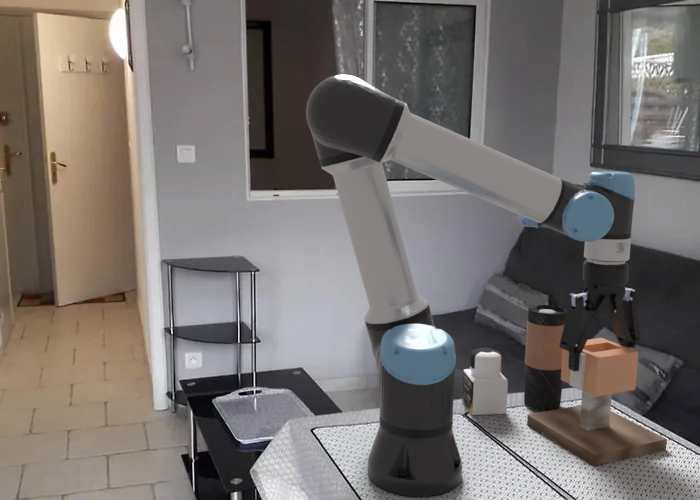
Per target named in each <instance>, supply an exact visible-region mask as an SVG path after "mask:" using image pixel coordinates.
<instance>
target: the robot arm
mask: <svg viewBox="0 0 700 500" xmlns="http://www.w3.org/2000/svg"><path fill="white" fill-rule="evenodd" d="M305 108H306V109H305V116H306V117H305V119H306V123H307V126H308V129H309V130H310V133H311V136H312V140H313V142H314V143H313V144H314V147H315V151H316V154H317V157H318V160H319V164H320V167H321V169H322V170H324V171H325V172H326V173H328V174H330V175H331V176H332V177H333V182H334V183H335V187H336V188H335V189H336V191H337V195H338V198H339V199H338V200H339V201H340V206H341V210H342V213H343V216H344V219H345V223H346V227H347V231H348V233H349V234H348V235H349V237H350V240H351V245H352V248H353V251H354V256H355V259H356V262H357V263H356V264H357V265H358V266H357V267H358V269H359V272H360V273H359V274H360V276H361V281H362V284H363V288H364V291H365V294H366V295H365V296H366V299H367V302H368V305H369V308H368V310H367V311H366V314H365V315H364V317H363V318H364V319H363V320H364V323H365V326H366V330H367V334H368V338H369V341H370V344H371V350H372V353H373V357H374V359H375V363H376V367H377V372H378V376H379V427H378V430H377V432H376V435H375V438H374V440H373V444H372V447H371V449H370V453H369V455H368V458H367V459H368V460H367V474H368V478H369V479H370V481H371V482H373V484H374V485H376V486H377V487H378V488H381V489H382V490H385V491H387V492H390V493H392V494H397V495H401V496H406V497H421V498H423V497H433V496H438V495H443V494H446V493H448V492H450V491H453V490H454V489H456V487H457V486H459V485H460V483H461V482H462V479H463V476H462V475H463V462H462V459H461V456H460V452H459V449H458V446H457V445H458V444H457V442H456V439H455V438H456V437H455V435H454V431H453V425H454V423H453V422H454V421H453V420H454V394H455V368H456V365H457V364H456V363H457V354H456V349H455V348H456V347H455V346H456V345H455V342H454V339H453V338H452V336H451V335H450V334H449V333H447V332H446V331H445V330H443V329H441V328H437V327H436V326H435V323H434V319H433V315H432V311H431V308H430V304H429V301H428V299H426V298H424V297H422V296H421V295H419V294H418V293H417V292H418V291H417V289H416V285H415V282H414V281H415V280H414V278H413V274H412V271H411V266H410V263H409V259H408V256H407V251H406V248H405V245H404V241H403V237H402V233H401V229H400V225H399V223H398V222H399V221H398V218H397V214H396V209H395V207H394V203H393V198H392V196H391V192H390V189H389V184H388V181H387V177H386V174H385V170H384V166H383V163H385V162H388V161H392V162H393V163H396V164H399V165H401V166H404V167H406V168H408V169H411V170H412V171H415V172H418V173H420V174H422V175H425V176H427V177H429V178H431V179H434V180H437V181H438V182H441V183H443V184H447V185H449V186H450V187H453V188H456V190H457V189H458V190H459V191H462V192H465V193H467V194H470V195H472V196H474V197H476V198H479V199H480V200H484V201H487V202H488V203H490V204H492V205H495V206H498V207H501V208H502V209H505V210H507V211H509V212H512V213H513V214H516V215H517V219H518V221H519V224H520V225H521V226H523V227H524V228H525V227H526V228H535V229H539V228H548V229H551V230H554V231H556V232H558V233H560V234H563V235H565V236H567V237H569V238H571V239H573V240H575V241H577V242H584V249H583V258H585V260H584V261H583V262H582V263H583V264H582V265H583V266H582V280H583V283H584V289H582V290H583V291H582V292H581V293H577V294H576V293H573V292H571V293H569V295H568V308H567V316H566V320H565V324H564V329H563V333H562V337H561V341H560V348H562V349H565V350H567V351H569V362H568V363H569V364H568V367H569V369H570V370H571V371H570V384H569V386H570V387H573V388H574V389H577V390H579V391H582V390H583V386H584V371H585V356H586V354H584V353H582V351H583V349H584V346H585V344H586V342H587V340H589V337H590V335H591V333H592V331H593V329H594V326H595V324H596V322H597V321H598V320H599V319H600V318H601V316H602V315H605V314H608V317H609V320H610V323H611V326H612V328H613V331H614V334H615V337H616V340H617V342H618V344H619V345H622V346H625V347H627V348H630V349H634V348H635V347H636V345H637V343H639V342H641V339H642V337H641V330H640V319H639V310H638V297H639V291H638V290H637V289H633V288H629V287H625V285H627V284H628V282H629V271H630V264H628V262H627V261H629V260H630V258H631V257H630V254H631V244H632V243H631V242H632V227H633V217H634V205H635V201H636V198H635V197H636V195H635V194H636V193H635V191H636V190H635V189H636V187H635V177H634V176H633V174H631V173H630V172H626V171H625V172H624V171H592V172H591V173H589V175H588V180H587V182H583V183H571V182H570V181H567V180H564V179H561V178H560V177H558V176H556V175H555V174H554V175H553V174H551V173H548V172H546V171H544V170H542V169H539V168H538V167H535V166H532V165H531V164H529V163H526V162H524V161H521V160H519V159H517V158H514V157H512V156H510V155H508V154H505V153H503V152H500V151H498V150H496V149H494V148H492V147H490V146H487V145H485V144H482V143H480V142H477V141H476V140H473V139H471V138H469V137H466V136H464V135H463V134H460V133H458V132H455V131H453V130H451V129H448V128H446V127H443V126H441V125H439V124H437V123H434V122H433V121H430V120H427V119H425V118H423V117H421V116H419V115H416V114H414V113H412V112H411V111H410V109H409V106H408V103H406V102H404V101H401V100H399V99H397V98H395V97H393V96H391V95H388V94H387V93H385V92H383V91H382V90H380V89H378V88H376V87H375V86H373V85H372V84H370V82H369V83H368V82H367V81H365V80H363V79H362V78H360V77H357V76H354V75H351V74H336V75H333V76H329V77H327V78H325V79H324V80H322V81H320V83H318V84H317V85H316V86H315V87H314V89H313V90H312V91H311V92H310V94H309V97H308V100H307V102H306V107H305ZM576 344H577V346H576Z"/></svg>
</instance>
